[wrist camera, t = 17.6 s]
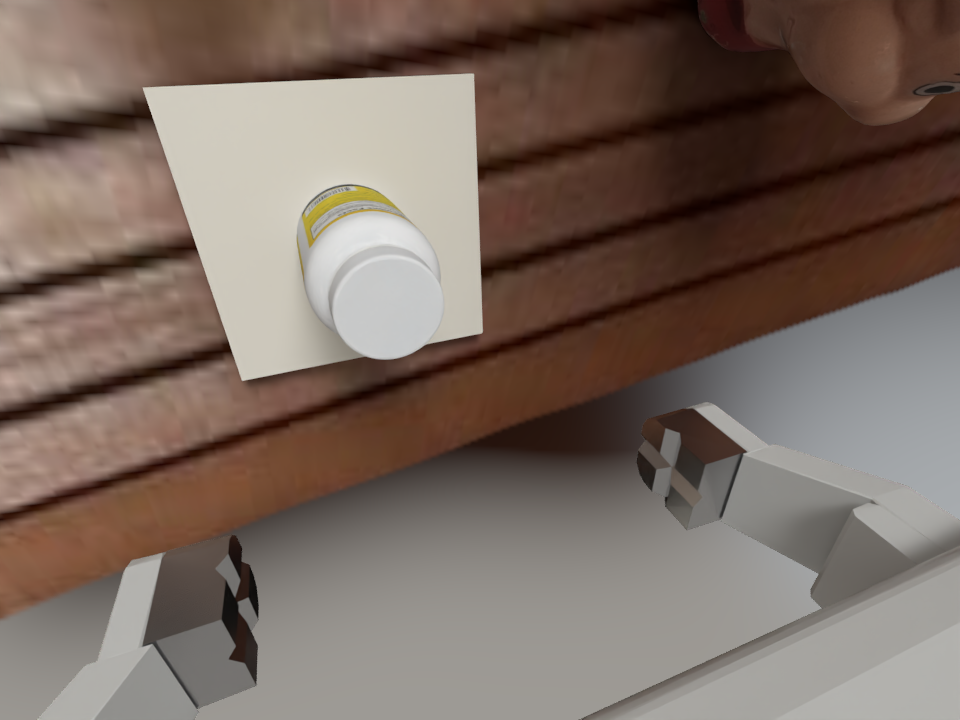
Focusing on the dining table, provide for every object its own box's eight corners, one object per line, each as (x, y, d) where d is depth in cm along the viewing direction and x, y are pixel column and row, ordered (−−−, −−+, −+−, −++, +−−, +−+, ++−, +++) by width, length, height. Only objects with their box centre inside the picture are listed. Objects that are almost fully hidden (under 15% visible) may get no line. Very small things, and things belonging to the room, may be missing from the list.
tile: (148, 87, 20) (142, 87, 19) (467, 73, 24) (473, 73, 23) (243, 371, 27) (242, 380, 27) (477, 326, 31) (482, 333, 31)
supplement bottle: (384, 298, 27) (428, 391, 19) (282, 267, 25) (286, 360, 17) (420, 205, 25) (486, 265, 18) (315, 162, 23) (336, 208, 15)
